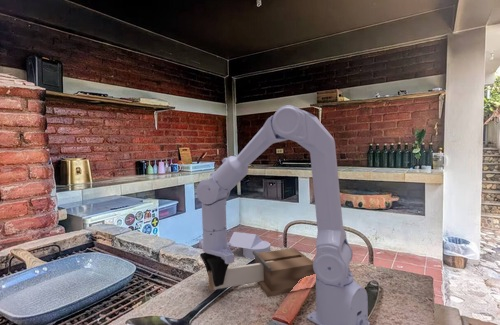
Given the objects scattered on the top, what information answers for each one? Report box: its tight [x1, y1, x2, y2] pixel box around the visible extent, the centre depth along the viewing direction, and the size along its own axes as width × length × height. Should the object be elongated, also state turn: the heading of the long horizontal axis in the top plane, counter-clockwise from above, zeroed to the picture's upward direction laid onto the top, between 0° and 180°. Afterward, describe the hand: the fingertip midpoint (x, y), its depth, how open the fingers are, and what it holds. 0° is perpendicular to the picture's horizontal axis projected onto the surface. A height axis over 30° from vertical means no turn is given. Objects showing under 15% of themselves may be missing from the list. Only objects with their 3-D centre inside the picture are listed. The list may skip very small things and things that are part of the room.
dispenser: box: [253, 247, 316, 298], centre depth 74 cm, size 13×12×7 cm
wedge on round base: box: [228, 231, 271, 260], centre depth 95 cm, size 9×7×13 cm
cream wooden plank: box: [207, 261, 272, 291], centre depth 71 cm, size 17×1×4 cm, turn 108°
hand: (216, 283), depth 69 cm, fingers closed on cream wooden plank, 2 cm apart
